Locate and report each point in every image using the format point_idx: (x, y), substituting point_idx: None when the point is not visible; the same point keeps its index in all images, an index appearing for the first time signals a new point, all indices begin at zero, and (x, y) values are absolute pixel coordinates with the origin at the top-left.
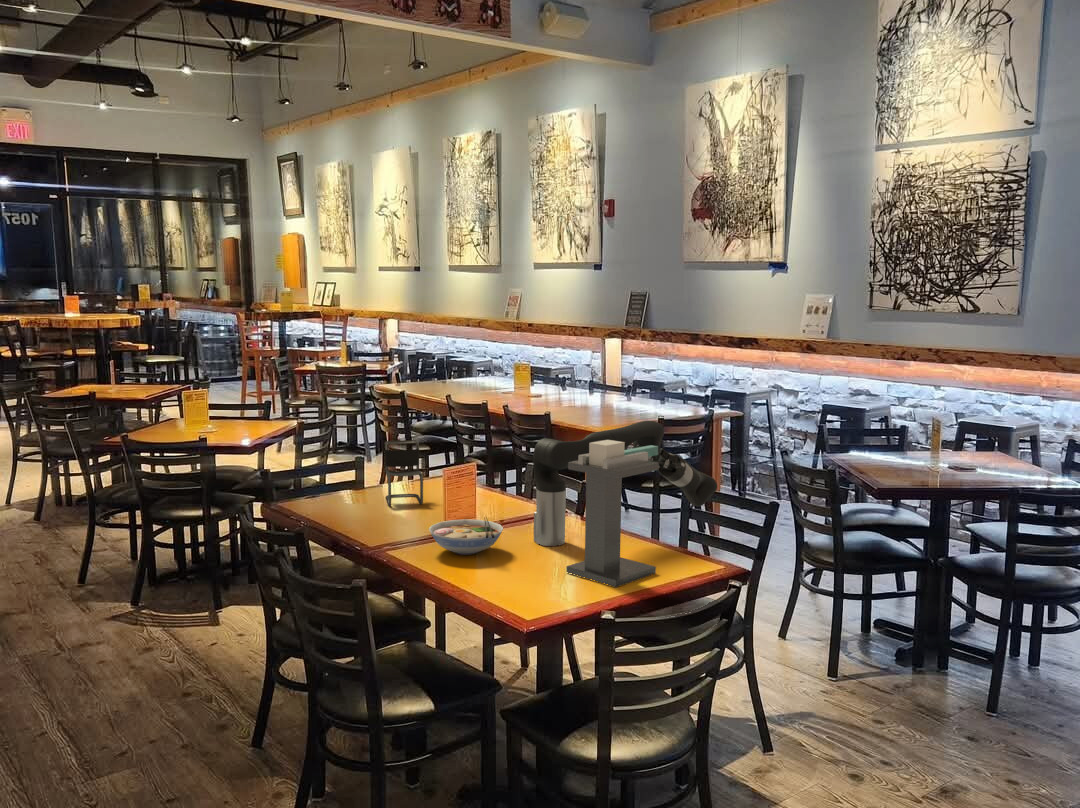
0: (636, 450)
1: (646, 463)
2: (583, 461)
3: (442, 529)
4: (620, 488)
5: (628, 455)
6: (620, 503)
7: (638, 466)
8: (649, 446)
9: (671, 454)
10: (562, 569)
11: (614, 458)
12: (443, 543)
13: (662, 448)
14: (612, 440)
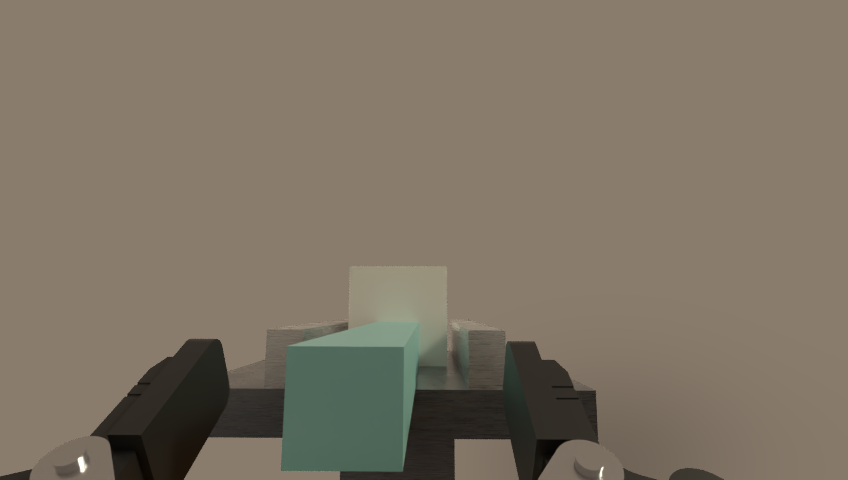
0: (357, 327)
1: (246, 376)
2: (449, 340)
3: None
4: (341, 473)
5: (322, 323)
6: None
7: (259, 364)
8: (368, 339)
9: (52, 461)
10: None
11: (337, 320)
12: None
13: (193, 339)
14: (419, 266)
